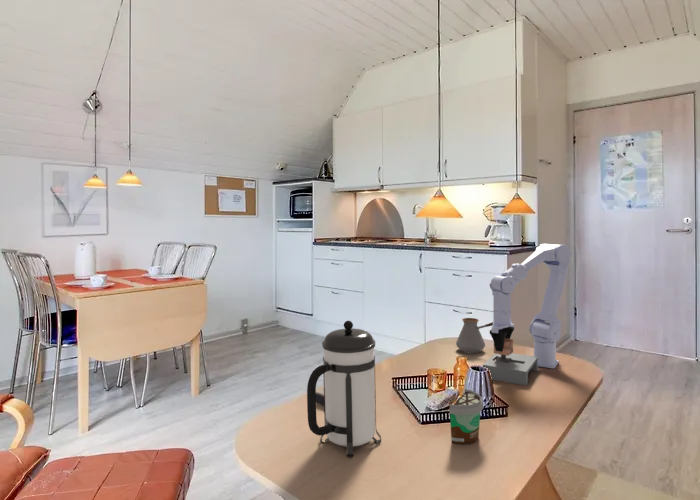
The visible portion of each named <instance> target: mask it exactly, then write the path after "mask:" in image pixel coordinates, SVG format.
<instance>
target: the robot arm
mask: <svg viewBox="0 0 700 500" xmlns="http://www.w3.org/2000/svg"><path fill="white" fill-rule="evenodd" d="M571 256H572V252H571V250H570V248H569V246H568V245H567V244H563V243H562V244H554V243H541V244H540V245H539V246H536V248H535V251H534V252H533V253H532V254H530V255H529V256H528V257H527V258H526V259H524V261H522V262H521V263H512V264H511V266H510V267H509V268H508V269H507V270H506V271H503V272H502V273H501V274H500V275H495V276H494V277H493V278H492V279H491V280H490V283H489V288H490V290H491V292H492V293H491V294H492V296H493V312H492V313H493V316H492V317H493V318H492V319H493V320H492V322H493V326H491V329H490V330H489V335H490V336H491V338H492V341H493V346H494V345H495V349H496V351H500V352H502V351H503V347H504V340H505V338H507V339H511V337H512V335H513V332H514V330H515V323H513V320H512V293H513V292H514V290H515V288H516V286H518V285H517V284H519V283H520V282H521V281H523V280H524V279H525V278H527V276H528V272H529V271H531V270H533V269H534V268H535V267H537V266H538V265H540V264H541V263H544V265H545V266H546V267H548V269H549V270H550V273H549V278H548V281H547V286H546V289H545V293H544V297H543V301H542V304H541V309H540V312H538V313H537V314H535V315H534V316H533V319H532V321H531V322H530V324H529V326H528V327H529V328H528V331H529V333H530V335H531V337H532V340H533V356H535V357H538V367H541V368H547V369H548V368H549V369H555V368H556V367H557V365H558V364H559V360H558V359H557V355H556V354H557V345H556V343H558V340H559V339H560V338H561V335H562V331H561V327H562V322H561V320H560V319H559V317H558V316H557V315H558V312H559V307H560V304H561V299H562V295H563V291H564V289H565V283H566V280H567V275H568V273H569V272H568V271H569V265H570V260H571V258H572V257H571Z"/></svg>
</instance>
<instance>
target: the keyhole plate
mask: <svg viewBox="0 0 700 500" xmlns="http://www.w3.org/2000/svg"><path fill="white" fill-rule="evenodd" d="M498 357H501V354H495V353H493V355H491V356H490V358H488V359H487V360H486V361H485V362H484V363H483V364H482V368H483V367H486V368H488V369H489V370H490V373H491V377H492V379H491V381H493V380H494V381H497V382H498V381H499V382H503V383H508V384H515V385H521V386H528V385H529V384H528V383H529V382H528V380H529V377H528V376H529V372H530V371H535V372H537V371H538V370H539V368H538V367H539V366H538V357H535V356H534V355H527V354H521V353H514V352H513V353H511V354H510V355H509V356H507V355H506V357H508V358H509V359H510V362H508V363H506V362H500V361H497V358H498Z"/></svg>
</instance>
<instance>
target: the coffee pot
mask: <svg viewBox="0 0 700 500" xmlns="http://www.w3.org/2000/svg"><path fill="white" fill-rule="evenodd" d="M462 321H463V325H462V328H461V330H460V333H459V335H458V337H457V339H456V342H455V345H456V347H457V348H458V349H459V350H460V351H461V352H462V353H465V354H479V353H481V352H482V350H483V349H484V348H485V347H486V343H485V341H484V337H483V336H482V333H481V332H480V331H481V330H480V329H484V328H487V327H492V326H493V321H492V322H489V323H485V324H483V325H480V326H478V322H479V319H478V318H473V317H464V318H462Z"/></svg>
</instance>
